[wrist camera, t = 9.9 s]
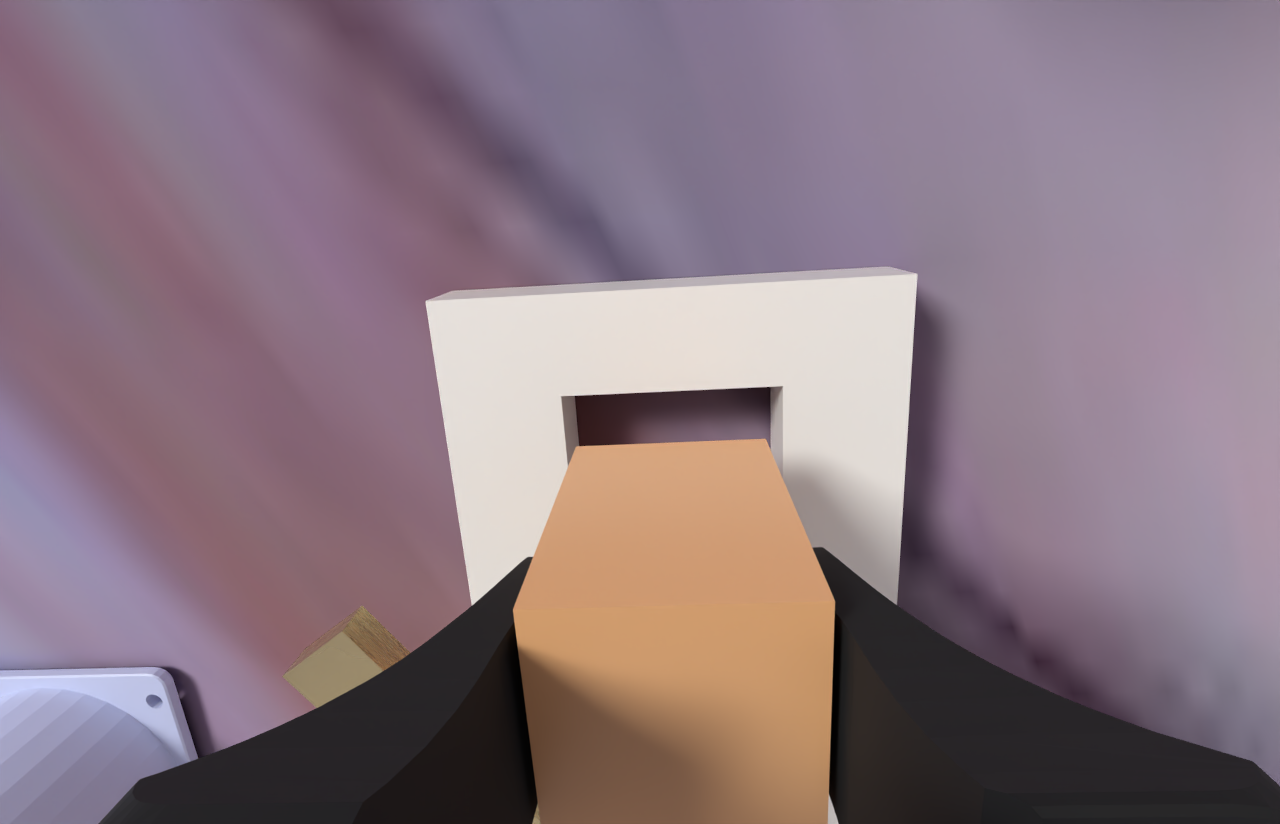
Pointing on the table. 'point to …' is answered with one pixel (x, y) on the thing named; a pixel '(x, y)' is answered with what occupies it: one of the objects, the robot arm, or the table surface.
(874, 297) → the socket block
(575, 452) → the plug
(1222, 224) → the table surface
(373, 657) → the bar
